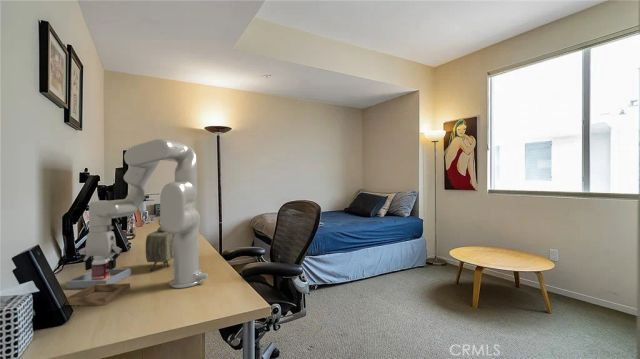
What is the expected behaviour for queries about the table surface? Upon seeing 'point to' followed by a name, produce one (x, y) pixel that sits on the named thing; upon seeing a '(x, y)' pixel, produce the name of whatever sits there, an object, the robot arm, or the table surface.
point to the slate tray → (86, 280)
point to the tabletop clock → (159, 247)
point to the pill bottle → (100, 268)
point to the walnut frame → (82, 300)
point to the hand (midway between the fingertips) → (100, 269)
